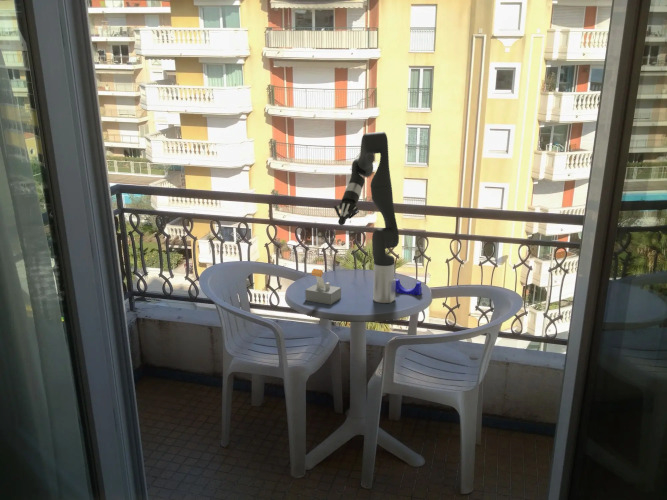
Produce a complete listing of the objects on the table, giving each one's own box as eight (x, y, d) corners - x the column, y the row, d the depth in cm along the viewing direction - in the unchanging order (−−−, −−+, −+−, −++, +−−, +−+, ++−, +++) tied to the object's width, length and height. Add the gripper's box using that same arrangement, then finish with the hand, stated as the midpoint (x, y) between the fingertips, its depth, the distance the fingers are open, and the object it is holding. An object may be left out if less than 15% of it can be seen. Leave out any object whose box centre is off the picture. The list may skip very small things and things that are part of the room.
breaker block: (341, 298, 272) (341, 281, 270) (331, 304, 263) (331, 287, 261) (316, 294, 277) (315, 277, 275) (305, 300, 269) (305, 283, 267)
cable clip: (421, 293, 279) (421, 281, 277) (418, 296, 275) (419, 283, 273) (397, 290, 284) (397, 278, 282) (394, 292, 280) (394, 280, 278)
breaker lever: (328, 285, 268) (322, 269, 261) (326, 289, 267) (320, 273, 260) (319, 284, 270) (313, 268, 263) (317, 288, 269) (311, 272, 262)
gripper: (337, 189, 283) (325, 218, 276) (362, 190, 277) (351, 221, 270) (342, 198, 289) (330, 227, 282) (366, 200, 283) (356, 230, 276)
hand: (340, 224), depth 276 cm, fingers closed
